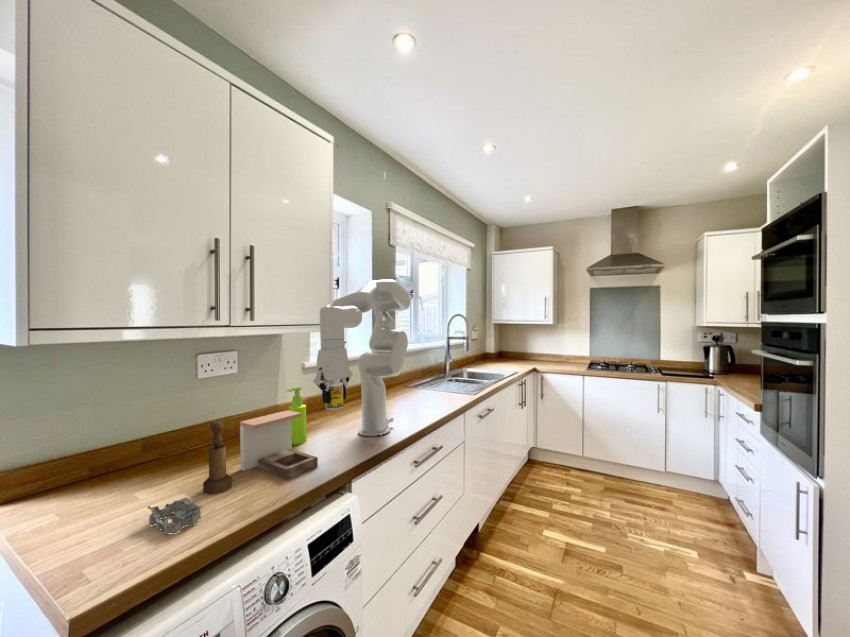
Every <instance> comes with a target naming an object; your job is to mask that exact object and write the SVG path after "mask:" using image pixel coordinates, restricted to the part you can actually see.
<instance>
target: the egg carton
mask: <svg viewBox="0 0 850 637" xmlns="http://www.w3.org/2000/svg"><path fill="white" fill-rule="evenodd" d="M202 508H203V505H199V504H198V503H197V502H196V501H195V502H194V501H191V500H190V499H189V498H188V497H184V498H180V499H178V500H174V501H173V502H172V503H166V504H165V506H164V508H162V509H161V508H160V507H159V506H158V505H156V506H153V507H152V506H150V505H148V506H147V509H148V510H150V511H151V514H150V515H149V518H148V521H149V522H148V523H149V526H150V525H154V524H156V526H155V527H156V530H157V529H159V530H160V529H164V530H163V532H164V533H165V534H169V533H177V532H178V531H182V529H183V528H182V527H183V526H186V525H194V524H196V523H198V522H199V521H200V520H199V519H201V518H202V516H201V509H202ZM172 512H173V513H172ZM170 513H172V514H170ZM169 515H170V516H171V518H172V523H168V519H169V517H170V516H169ZM168 516H169V517H168ZM165 517H167V518H165ZM160 518H165V519H160ZM198 520H199V521H198ZM196 525H197V524H196ZM194 526H195V525H194ZM181 528H182V529H181ZM159 530H158V531H159ZM160 531H161V530H160ZM165 534H164V535H165ZM177 534H178V533H177Z"/></svg>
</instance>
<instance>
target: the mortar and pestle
mask: <svg viewBox="0 0 850 637" xmlns="http://www.w3.org/2000/svg"><path fill="white" fill-rule="evenodd" d="M209 427H210V430H211V432H212V433H213V437H212V443H213V445H211V446H209V447H208V477H207V478H206V480H205V481H203V483H202V485H203V487H202V490H203V494H206V495H216V494H217V495H218V494H222V493H225V492H226V491H229V490H231V488H232V485H233V483H232V480H233V479H232V476H231V475H229V474H227V444H224V443H223V444H222V441H223V436H221V432H222V430H223V428H224V422H223V421H222V420H221V419H216V420H213V421H212V422H211V423H210V425H209Z"/></svg>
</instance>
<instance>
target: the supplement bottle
mask: <svg viewBox="0 0 850 637" xmlns="http://www.w3.org/2000/svg"><path fill="white" fill-rule="evenodd" d="M325 386H326V384H325ZM329 391H330V392H331V403H329V404H327V403H325V408H326V410H329V411H336V410H341V409H343V408H344V406H345V404H344V399H343V383H342V382H340V379H336V380H334V381H331V383H330V387H329Z"/></svg>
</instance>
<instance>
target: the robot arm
mask: <svg viewBox="0 0 850 637" xmlns="http://www.w3.org/2000/svg"><path fill="white" fill-rule="evenodd" d="M410 305H411V297H410V294H409V292H408V291H407V290H406V289H405V288H404V286H402V285H401V284H400V283H399V282H398V281H396V280H394V279H379V280H376V279H375V280H371V281H369V282H367V283H366V284H365V285H363V286H362V287H361V288H360V289H358V290H357V291H355V292H351V293H350V294H346V295H345V296H342V297H339V298H336V299H334V300H333V301H331V302H330V303H328V304H326V305H325V306H322V307H321V308H320V309H319V331H320V332H319V336H320V349H318V351H317V357H316V369H315V371H316V373H315V374H316V375H315V377H314V379H313V381H312V382H313V383H314V384H315V385H316V386H317V387H318V388H319V389H320V391H321V394H322V395H321V397H322V403H323V404H326V403H327V404H329V403H331V392H330V391H329V387H330V383H331V381H334V380H336V379H340V382H342V383H343V400H347V388H346V387H348V383H349V382H350V379H351V377H352V376H353V373H352V371H351V370H350V367H349V357H348V352H347V347H346V344H347V341H346V340H347V339H346V338H345V329H352V328H357V327H358V326H359V325H361V323H362V321H363V314H364V313H367V312H369V311H370V310H373V314H374V317H375V323H374V326H373V329H372V332H371V336H370V338H369V342H368V347H369V349H370V351H366V352H364V353H362V354H360V355H359V358H358V362H357V365H358V372H359V377H360V385H361V386H360V388H361V391H360V392H361V425H362V426H360V427H359V428H358V430H357V431H358V432H357V433H358V434H359V435H360V436H363V435H364V437H378V436H377V435H380V436H384V435H383V434H385V435H387V434H388V432H389V433H390V432H391V427H390V426H389V424H391V423H393V422H394V417H392V416H391V417H387V397H386V395H387V394H386V393H387V392H386V390H387V389H386V388H387V387H386V383H385V382H384V380H383V378H382V377H397V376H399V375H400V374H401V372H402V369H403V366H404V362H405V358H406V354H407V350H408V343H409V341H408V339H409V338H408V335H407V333H406V332H405V331H404V330H401V329H395V328H396V322H395V320H394V318H393V316H391V315H390V313H389V312H392V311H393V312H394V311H395V312H397V311H406V310H408V309H409V308H410ZM345 339H346V340H345ZM325 384H326V386H325ZM386 433H387V434H386Z"/></svg>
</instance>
